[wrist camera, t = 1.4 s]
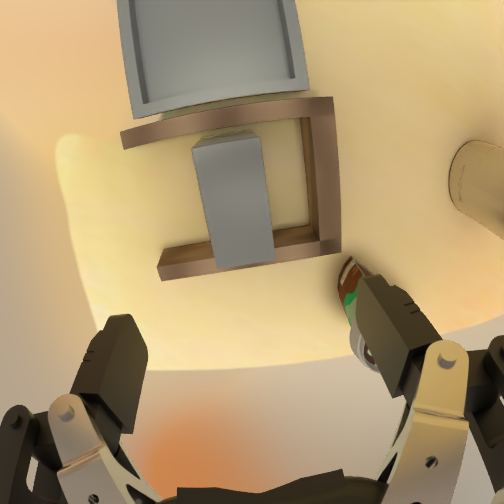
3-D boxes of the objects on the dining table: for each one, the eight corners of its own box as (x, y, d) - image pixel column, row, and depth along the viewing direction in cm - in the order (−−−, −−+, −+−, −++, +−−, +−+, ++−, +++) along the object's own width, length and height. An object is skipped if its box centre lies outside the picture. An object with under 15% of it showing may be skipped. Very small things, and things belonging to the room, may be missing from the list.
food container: (304, 290, 32) (328, 357, 23) (341, 248, 30) (381, 307, 21) (369, 330, 36) (399, 387, 27) (402, 297, 34) (441, 351, 25)
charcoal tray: (276, -48, 16) (280, -60, 13) (302, 90, 23) (309, 89, 20) (123, -21, 16) (114, -30, 14) (142, 117, 23) (133, 119, 21)
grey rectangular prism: (251, 129, 24) (259, 137, 18) (265, 224, 28) (275, 259, 22) (201, 138, 24) (191, 148, 18) (219, 231, 28) (217, 269, 22)
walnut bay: (319, 97, 23) (332, 96, 20) (329, 236, 29) (341, 252, 26) (133, 128, 23) (119, 131, 20) (167, 262, 29) (161, 281, 26)
